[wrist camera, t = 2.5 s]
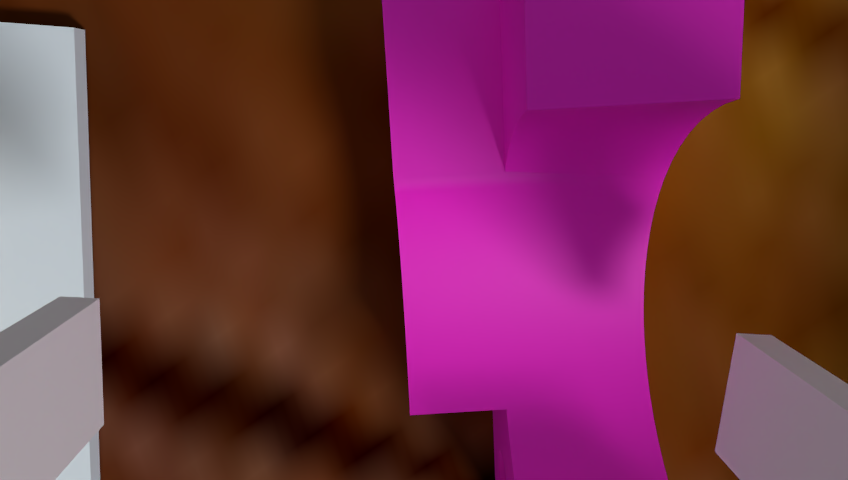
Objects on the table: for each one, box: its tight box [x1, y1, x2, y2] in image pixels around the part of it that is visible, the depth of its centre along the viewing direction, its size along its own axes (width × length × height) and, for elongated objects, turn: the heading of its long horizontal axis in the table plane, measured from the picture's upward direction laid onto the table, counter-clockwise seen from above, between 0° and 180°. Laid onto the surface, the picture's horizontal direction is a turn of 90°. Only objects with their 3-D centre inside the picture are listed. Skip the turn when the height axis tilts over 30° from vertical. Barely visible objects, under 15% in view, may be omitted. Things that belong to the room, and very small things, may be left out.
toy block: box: [382, 0, 744, 480], centre depth 16 cm, size 15×6×8 cm, turn 3°
